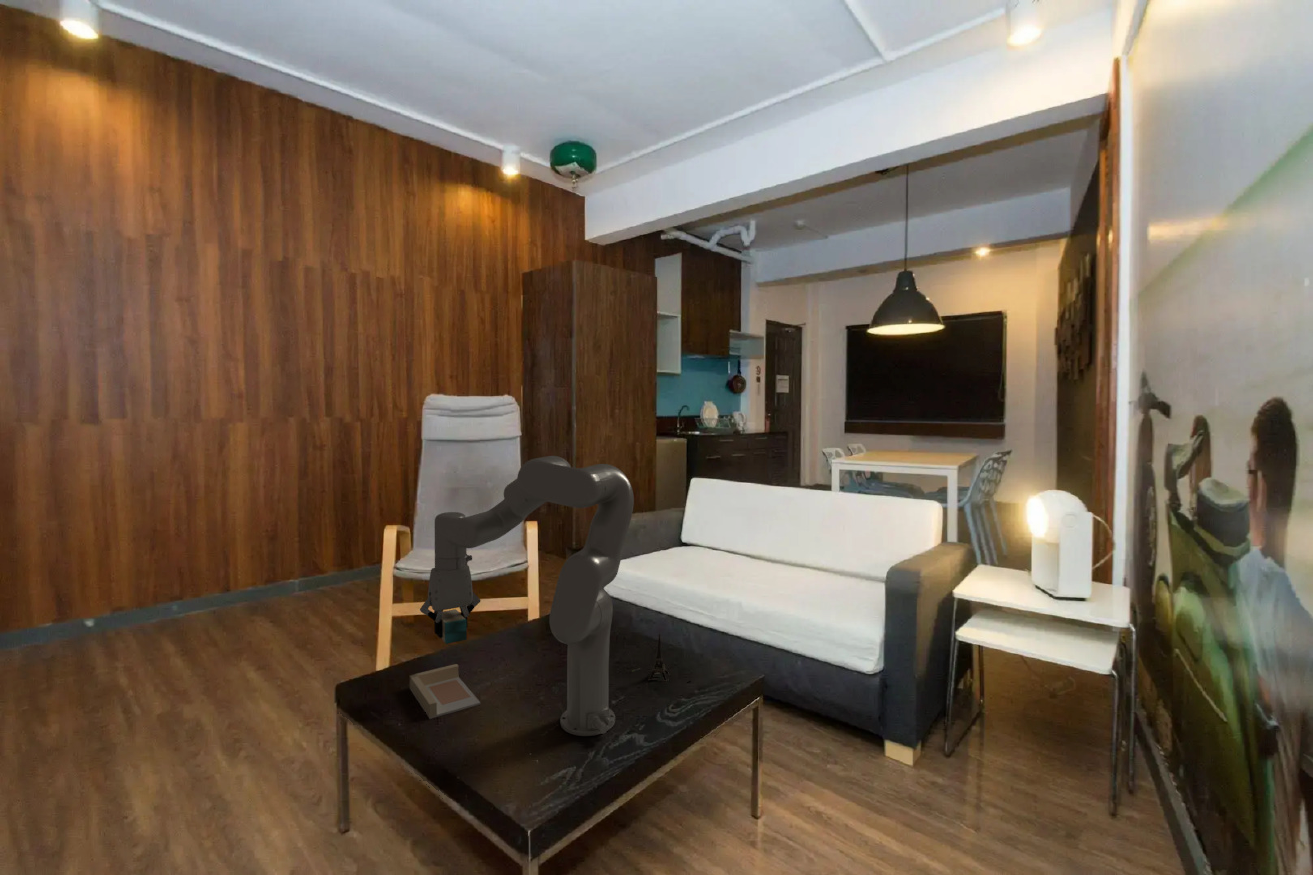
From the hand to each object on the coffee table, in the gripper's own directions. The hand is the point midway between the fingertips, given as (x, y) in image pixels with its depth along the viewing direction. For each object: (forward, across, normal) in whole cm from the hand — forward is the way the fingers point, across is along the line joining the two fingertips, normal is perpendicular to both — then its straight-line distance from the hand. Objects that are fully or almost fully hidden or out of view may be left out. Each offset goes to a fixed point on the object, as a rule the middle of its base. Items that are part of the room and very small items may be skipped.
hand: (451, 633), depth 153 cm
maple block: (+1, 0, 0) cm, 1 cm away
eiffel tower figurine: (+16, -50, +21) cm, 56 cm away
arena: (+16, +2, 0) cm, 16 cm away
